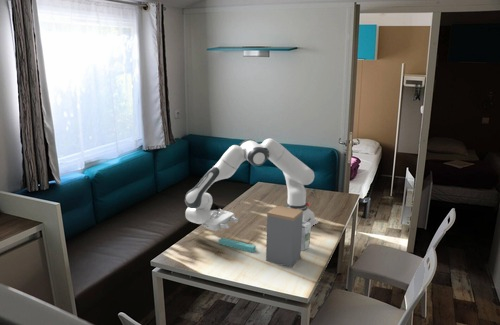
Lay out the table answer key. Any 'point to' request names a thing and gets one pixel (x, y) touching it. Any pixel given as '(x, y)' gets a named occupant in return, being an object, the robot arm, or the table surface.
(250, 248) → the teal batten
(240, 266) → the table surface
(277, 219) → the pedestal
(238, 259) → the table surface
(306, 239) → the syrup box
